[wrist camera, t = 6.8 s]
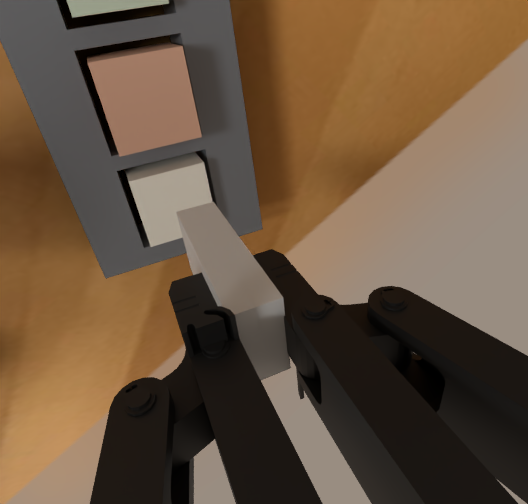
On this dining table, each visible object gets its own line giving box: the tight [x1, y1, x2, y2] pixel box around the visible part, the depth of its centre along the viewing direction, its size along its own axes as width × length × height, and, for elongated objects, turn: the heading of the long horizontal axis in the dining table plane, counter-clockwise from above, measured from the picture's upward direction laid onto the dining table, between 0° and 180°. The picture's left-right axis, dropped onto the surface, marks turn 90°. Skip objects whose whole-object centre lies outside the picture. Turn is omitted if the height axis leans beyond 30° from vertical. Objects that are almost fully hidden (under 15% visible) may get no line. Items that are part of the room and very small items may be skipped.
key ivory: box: [125, 152, 212, 247], centre depth 23 cm, size 4×4×4 cm
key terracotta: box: [87, 42, 202, 157], centre depth 19 cm, size 4×4×4 cm
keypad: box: [0, 0, 262, 278], centre depth 19 cm, size 10×24×3 cm, turn 8°
